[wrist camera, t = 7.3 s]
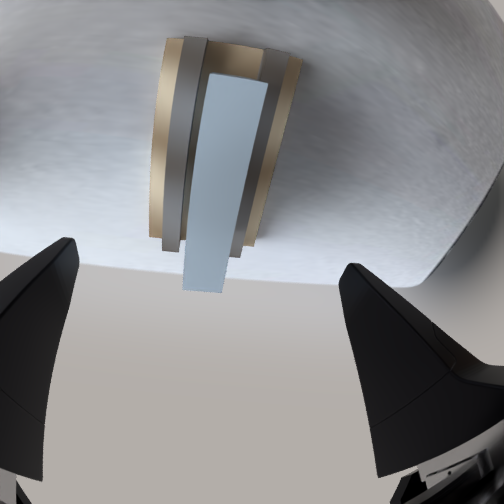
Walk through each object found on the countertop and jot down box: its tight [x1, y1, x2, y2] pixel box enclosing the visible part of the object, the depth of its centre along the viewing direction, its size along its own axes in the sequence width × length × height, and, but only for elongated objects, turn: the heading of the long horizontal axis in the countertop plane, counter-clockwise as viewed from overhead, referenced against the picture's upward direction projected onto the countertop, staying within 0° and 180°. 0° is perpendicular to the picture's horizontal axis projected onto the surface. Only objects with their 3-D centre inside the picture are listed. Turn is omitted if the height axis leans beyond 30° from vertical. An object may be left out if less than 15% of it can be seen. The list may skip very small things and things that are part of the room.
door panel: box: [183, 72, 268, 293], centre depth 13 cm, size 10×2×7 cm, turn 168°
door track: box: [149, 36, 303, 258], centre depth 16 cm, size 14×8×2 cm, turn 168°
